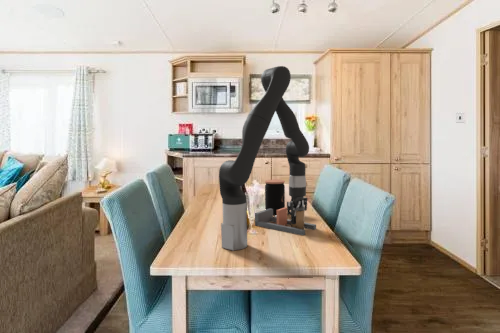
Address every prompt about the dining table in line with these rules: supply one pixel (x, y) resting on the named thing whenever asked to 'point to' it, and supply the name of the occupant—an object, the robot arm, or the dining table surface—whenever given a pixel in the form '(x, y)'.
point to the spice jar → (299, 218)
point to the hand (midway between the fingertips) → (297, 222)
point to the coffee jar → (274, 195)
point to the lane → (267, 216)
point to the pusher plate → (281, 216)
